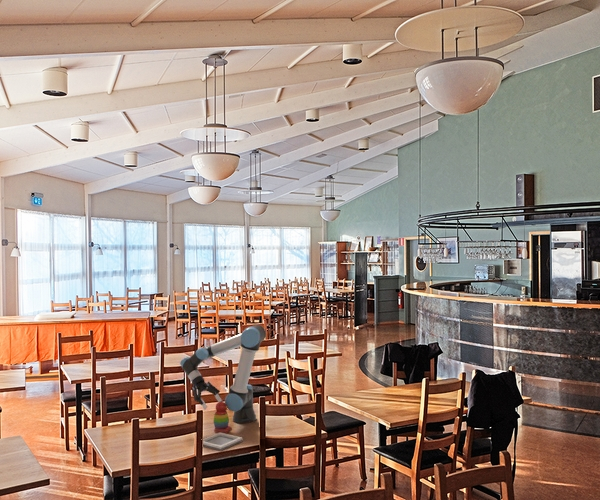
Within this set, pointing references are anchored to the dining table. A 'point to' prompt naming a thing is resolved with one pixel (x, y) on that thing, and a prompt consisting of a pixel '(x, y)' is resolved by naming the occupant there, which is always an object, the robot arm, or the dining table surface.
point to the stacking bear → (221, 418)
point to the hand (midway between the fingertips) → (213, 405)
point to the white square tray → (221, 441)
